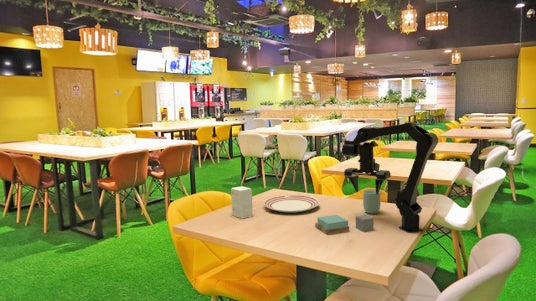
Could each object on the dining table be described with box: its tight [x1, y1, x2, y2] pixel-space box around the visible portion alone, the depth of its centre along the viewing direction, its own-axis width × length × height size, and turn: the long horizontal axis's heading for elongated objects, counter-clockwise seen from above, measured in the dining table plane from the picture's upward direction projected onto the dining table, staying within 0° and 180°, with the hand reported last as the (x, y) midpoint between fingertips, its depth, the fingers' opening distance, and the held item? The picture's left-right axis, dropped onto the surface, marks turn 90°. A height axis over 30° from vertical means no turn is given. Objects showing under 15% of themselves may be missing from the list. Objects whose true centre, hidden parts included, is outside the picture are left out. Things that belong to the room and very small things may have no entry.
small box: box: [230, 185, 254, 219], centre depth 175 cm, size 8×6×13 cm
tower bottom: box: [314, 222, 350, 236], centre depth 154 cm, size 10×10×2 cm
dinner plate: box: [263, 194, 320, 214], centre depth 188 cm, size 27×27×3 cm
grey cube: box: [355, 214, 374, 233], centre depth 153 cm, size 5×5×5 cm
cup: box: [362, 189, 382, 215], centre depth 175 cm, size 8×8×10 cm
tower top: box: [316, 214, 349, 230], centre depth 153 cm, size 9×9×2 cm
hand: (367, 193), depth 162 cm, fingers open, 9 cm apart
